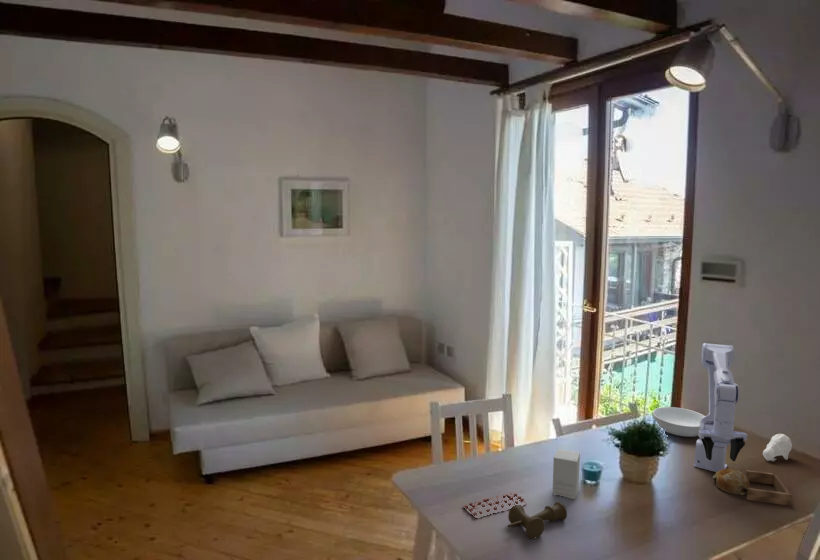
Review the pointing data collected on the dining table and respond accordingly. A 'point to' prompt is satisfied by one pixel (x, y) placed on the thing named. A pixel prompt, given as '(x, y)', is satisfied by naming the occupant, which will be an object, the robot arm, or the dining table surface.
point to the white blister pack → (493, 503)
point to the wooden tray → (764, 495)
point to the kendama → (536, 518)
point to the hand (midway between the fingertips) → (720, 459)
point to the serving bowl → (678, 420)
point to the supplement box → (566, 473)
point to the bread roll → (731, 481)
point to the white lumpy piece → (778, 447)
